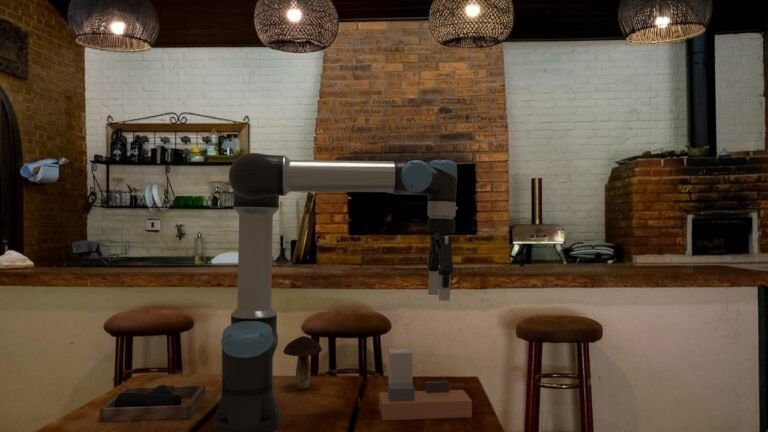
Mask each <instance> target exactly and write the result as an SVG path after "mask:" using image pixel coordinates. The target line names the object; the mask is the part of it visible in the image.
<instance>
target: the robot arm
mask: <svg viewBox="0 0 768 432" xmlns="http://www.w3.org/2000/svg"><path fill="white" fill-rule="evenodd" d="M228 182H229V185H230V187H231V189H232V190H233V193H232V194H233V195H232V196H233V197H232V202H233V203H232V205H233V206H232V208H233V210H234V211H235V212H236V213H237V214H238V248H237V249H238V251H237V257H238V259H237V261H238V262H237V301H236V303H237V305H236V306H237V307H236V308H235V309H234V311H232V313H231V314H230V324H229V325H227V327H224V330H223V331H222V335H221V336H222V337H221V341H220V345H221V396H220V398H219V402H218V405H217V409H216V411H215V415H214V419H213V429H214V432H272V431H274V430H276V429H277V428H278V427H279V426H280V425H281V411H280V410H279V405H278V404H277V400H276V397H275V394H274V390H273V384H274V383H273V382H274V379H273V377H274V375H273V373H274V372H273V368H274V365H273V364H274V363H273V361H274V359H273V358H274V356H275V355H274V354H275V352H276V350H277V347H278V344H279V343H278V342H279V334H278V330H277V329H278V328H277V327H278V324H277V323H278V322H277V321H278V317H277V316H278V313H277V311H275V309H273V307H272V278H273V276H272V274H273V271H272V270H273V231H274V230H273V225H274V224H273V223H274V218H273V217H274V215H275V214H276V213H277V211H279V210H280V196H283V197H284V196H287V195H288V194H289V193H291V192H293V193H294V192H297V193H298V192H301V193H302V192H304V193H305V192H307V193H308V192H310V193H314V192H315V193H318V192H319V193H321V192H323V193H325V192H327V193H328V192H329V193H333V192H334V193H335V192H336V193H340V192H341V193H342V192H343V193H344V192H345V193H346V192H347V193H387V194H394V195H409V196H410V195H411V196H412V195H413V196H414V195H417V196H419V195H420V196H428V197H427V198H428V199H427V217H429V218H428V219H427V221H426V222H427V223H426V231H427V232H428V233H434V235H431V236H430V246H429V247H430V248H429V253H428V260H427V261H428V262H427V268H428V294H427V295H428V296H438V301H444V302H445V301H447V302H448V301H449V302H450V301H451V279H452V278H451V277H452V276H451V275H452V274H453V272H454V263H453V251H452V249H453V248H452V236H450V235H449V236H448V234H454V233H455V232H456V219H454V218H455V217H456V213H457V212H456V211H457V210H458V209H459V208H458V207H459V206H456V205H457V186H458V185H457V184H458V165H457V163H456V162H455V161H454V160H448V159H433V160H431V161H430V162H429V164H428V163H426V162H424V161H423V160H419V159H417V160H416V159H414V160H413V159H412V160H409V161H401V160H400V161H399V160H398V161H394V160H391V161H389V160H388V161H387V160H383V161H382V160H321V159H320V160H319V159H318V160H316V159H315V160H314V159H313V160H311V159H290V158H288V157H287V156H286V155H281V154H280V155H275V154H264V153H259V152H249V153H245V154H242V155H241V156H239V157H237V158H236V159H235V160H234V161H233V162H232V164H231V165H230V168H229V170H228Z"/></svg>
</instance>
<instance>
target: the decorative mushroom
mask: <svg viewBox="0 0 768 432" xmlns="http://www.w3.org/2000/svg"><path fill="white" fill-rule="evenodd" d="M322 351H323V348H322V346H321V345H320V343H319V342H318V341H316V340H314V339H313V338H311V337H309V336H305V335H303V336H302V335H301V336H299V337H297V338H295V339H293V340H292V341H290V342H289V343H287V344H286V346H285V348H284V349H283V351H282V352H283V354H284V355H287V356H292V357H297V364H296V367H295V368H296V370H295V384H296V385H295V386H296V387H297V388H298V389H300V390H306V389H308V388H309V387H310V386H311V383H312V381H311V379H312V376H311V364H310V357H311V356H316V355H318V354H320V353H321V352H322Z"/></svg>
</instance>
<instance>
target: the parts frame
mask: <svg viewBox="0 0 768 432" xmlns="http://www.w3.org/2000/svg"><path fill="white" fill-rule="evenodd" d="M157 386H158V385H157ZM157 386H132V387H127V386H126V387H124V388H122V390H121V391H119V392H118V393H117V394H116V395H114V396H113V398H111V399H110V400H109V401H108V402H106V404H104V405H103V406H102V407H100V409H99V423H105V422H107V423H109V421H113V422H129V421H128V420H141V421H159V420H158V419H169V420H179V419H178V418H189V417H191V418H192V416H193V415H194V413H195V412H196V410H197V409H198V407H199V406H200V404H201V403H202V401H203V400H204V398H205V397H206V384H198V385H197V384H196V385H195V384H193V385H191V384H190V385H189V384H188V385H174V391H173V395H179V396H180V397H192V398H191V399H190V400H189V401H188V403H187V404H186V405H185V404H181V405H178V406H148V407H118V408H115V401H116V398H117V396H118V395H119V394H120V393H122V392H123V393H145V394H147V393H149V392H150V391H152V390H153V388H155V387H157ZM204 396H205V397H204ZM203 397H204V398H203ZM202 399H203V400H202ZM201 400H202V401H201ZM200 402H201V403H200ZM199 403H200V404H199ZM198 405H199V406H198ZM197 406H198V407H197ZM196 408H197V409H196ZM195 409H196V410H195ZM194 411H195V412H194ZM193 412H194V413H193ZM192 414H193V415H192ZM191 415H192V416H191Z"/></svg>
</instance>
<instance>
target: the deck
mask: <svg viewBox="0 0 768 432" xmlns="http://www.w3.org/2000/svg"><path fill="white" fill-rule="evenodd" d="M424 385H425V387H424V388H425V389H424V390H419V391H418V390H415V387H414V384H413V385H412V383H389V382H388V383H387V391H386V392H383V391H382V392H378V409H379V413H380V415H381V419H382V421H401V420H402V421H403V420H430V419H455V418H456V419H457V418H461V419H462V418H472V417H473V400H472V399H471V398H470V396H469V395H468V393H466V391H465V390H464V389H453V390H451V389H450V382H449V380H432V381H431V380H429V381H427V380H426V381H424Z"/></svg>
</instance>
